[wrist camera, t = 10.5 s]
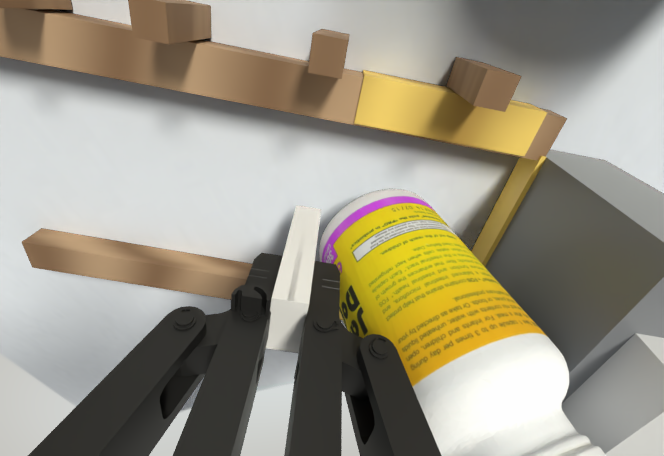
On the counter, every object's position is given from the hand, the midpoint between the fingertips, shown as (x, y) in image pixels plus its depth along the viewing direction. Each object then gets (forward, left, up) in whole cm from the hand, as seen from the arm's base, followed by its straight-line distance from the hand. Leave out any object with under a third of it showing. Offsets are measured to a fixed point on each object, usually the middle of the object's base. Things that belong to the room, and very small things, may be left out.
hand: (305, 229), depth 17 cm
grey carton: (+12, 0, -2) cm, 13 cm away
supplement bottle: (+4, 0, -1) cm, 4 cm away
